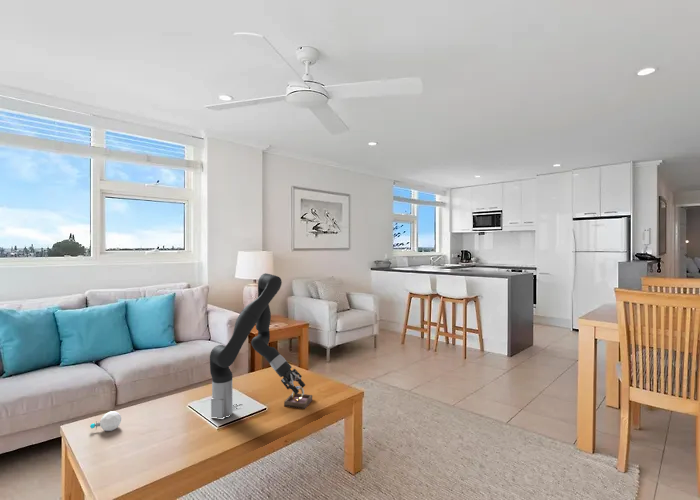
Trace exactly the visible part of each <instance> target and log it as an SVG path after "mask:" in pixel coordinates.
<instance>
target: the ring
mask: <svg viewBox="0 0 700 500" xmlns="http://www.w3.org/2000/svg"><path fill="white" fill-rule="evenodd" d="M295 387H296V388H297V389H298V390H300V391H301V394H302V395H301V397H300V398H299V399H297V400H295V398H294V396H295V393H294V392H293V391H292V393H291V394H292V398H293V400H294V401H298V402H299V401H300V400H301V399H302V398H303V395H304V394H305V390H304V387H303V388H302V387H301V386H300V385H296V386H295Z"/></svg>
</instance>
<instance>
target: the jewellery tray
mask: <svg viewBox="0 0 700 500" xmlns="http://www.w3.org/2000/svg"><path fill="white" fill-rule="evenodd" d="M301 395H302V393H299V392H298V393H297V394H295V396H294V398H295V400H297V399H299V398H300V397H301ZM312 401H313V395H312V394H305V393H304V395H303V398H302V399H301V400H300V401H299V402H298V401H294V400H293V398H292V393H291V394H290V395H289V396H288V397H287V398H286V399H285V400H284V402H283V404H284V405H283V407H287V408H292V409H299V410H300V409H301V410H305V409H306V408H307V407H308V406H309V404H310V403H311V402H312Z"/></svg>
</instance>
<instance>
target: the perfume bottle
mask: <svg viewBox="0 0 700 500" xmlns="http://www.w3.org/2000/svg"><path fill="white" fill-rule="evenodd" d="M121 422H122V415H121V414H120V413H119V412H118V411H114V410H113V411H111V410H110V411H108V412H107V413H105V414H103V415H102V417H101V418H100V420H99V422H97V421H95V423H91V424H90V425H89V427H90V429H97V428H98V427H100V428H101V429H102V430H104V432H113V431H114V430H116V429H117V428H119V426H120V424H121Z"/></svg>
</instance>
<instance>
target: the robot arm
mask: <svg viewBox="0 0 700 500" xmlns="http://www.w3.org/2000/svg"><path fill="white" fill-rule="evenodd" d="M282 283H283V282H282V279H281V277H280V276H278V275H274V274H270V273H262V274H261V275H260V276H259V279H258V282H257V298H256V299H254V300H253V301H251V302H249V303H248V304H247V305H246V306H245V307H243V309H242V310H241V311H240V313H239V315H238V316H237V318H236V320H235V323H234V328H233V333H232V335H231V337H230V339H229V340H228V341H227V343H226V345H224V344H218V345H215V346H214V347H213V348H212V349H211V351H210V355H209V369H210V370H209V372H210V376H211V397H212V398H210V410H211V411H210V412H211V413H210V416H211V417H217V418H223V417H226V416H229V415H231V414H232V412H233V411H234V410H233V372H232V370H231V369H230V367H231V365H232V364H233V363H234V362H235V360H236V359H237V357H238V355H239V353H240V352H241V351H240V350H241V349H242V347H243V345H244V344H245V342H246V340H247V339H248V336H249V335H250V333H251V332H252V331H253V329H254V327H255V329H256V331H257V335H256V336H254V337H253V338H252V339H251V346H252V348H253V350H254V351H255V352H257V353H258V354H259V355H260V356H262V357H263V358H264V359H265V360H266V361H267V362H268V364H269V365H270V366H271V368H272V369H273V370H274V372H276V375H278V376H279V377H280V378H281V380H280V382H281V383H282V384H283V385H284V386H285V388H286V390H291V391H292V393H293V392H294V393H295V394H297V393H299V392H300V391H299V390H300V389H299V390H298V389H297V388H296V386H295V385H294V382H297V384H298V386H301V387H302V388H303V389H304V387H306V384H305V382H304V381H303V380H302V374H300V372H299V371H298V370H297V369H296V368H293V369H292V366H291V364H290V363H289V362H288V361H287V360H286V358H285V357H284V356H283V355H281V353H280V352H279V351H278V349H276V347H274V346H269V344H270V339H271V338H270V337H271V335H270V334H271V333H270V326H271V325H270V324H271V317H272V313H271V308H270V303H271V302H272V300H273V299H274V297H275V296H276V295H277V294H278V292H279V291H280V289H281V287H282ZM232 415H233V414H232ZM232 415H231V416H232ZM211 417H210V418H211Z"/></svg>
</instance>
